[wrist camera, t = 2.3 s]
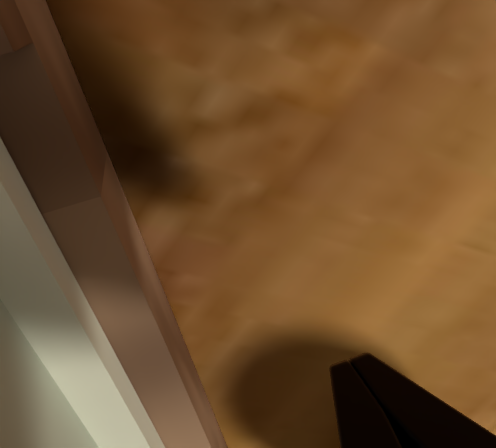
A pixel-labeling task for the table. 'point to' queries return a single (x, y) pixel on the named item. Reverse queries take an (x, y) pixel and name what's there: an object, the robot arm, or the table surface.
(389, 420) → the robot arm
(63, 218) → the sliding lid box
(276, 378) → the table surface
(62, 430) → the cover
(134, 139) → the table surface
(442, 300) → the table surface
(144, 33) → the table surface
